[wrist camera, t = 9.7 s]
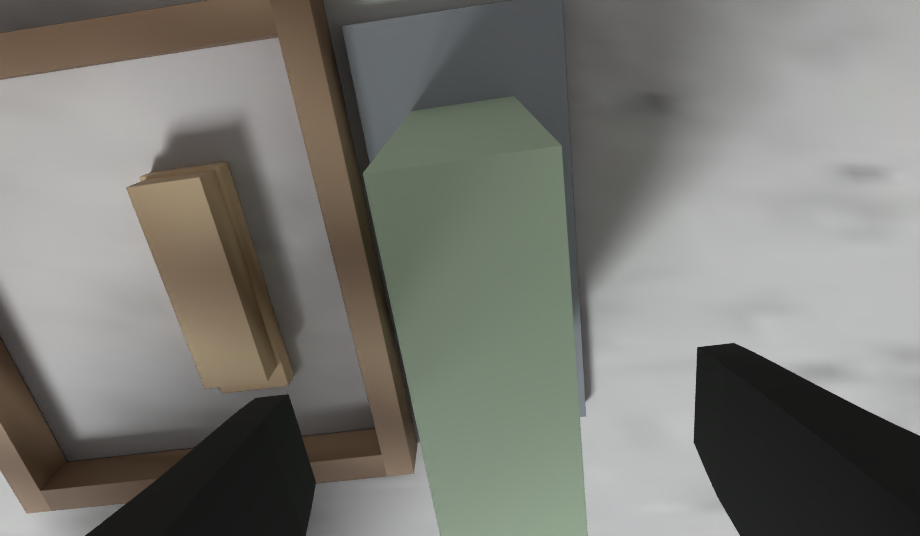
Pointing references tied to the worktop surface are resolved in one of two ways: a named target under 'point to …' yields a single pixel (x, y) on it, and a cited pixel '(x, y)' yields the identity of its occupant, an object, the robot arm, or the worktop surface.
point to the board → (484, 314)
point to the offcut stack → (212, 276)
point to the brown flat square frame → (345, 216)
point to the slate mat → (469, 81)
